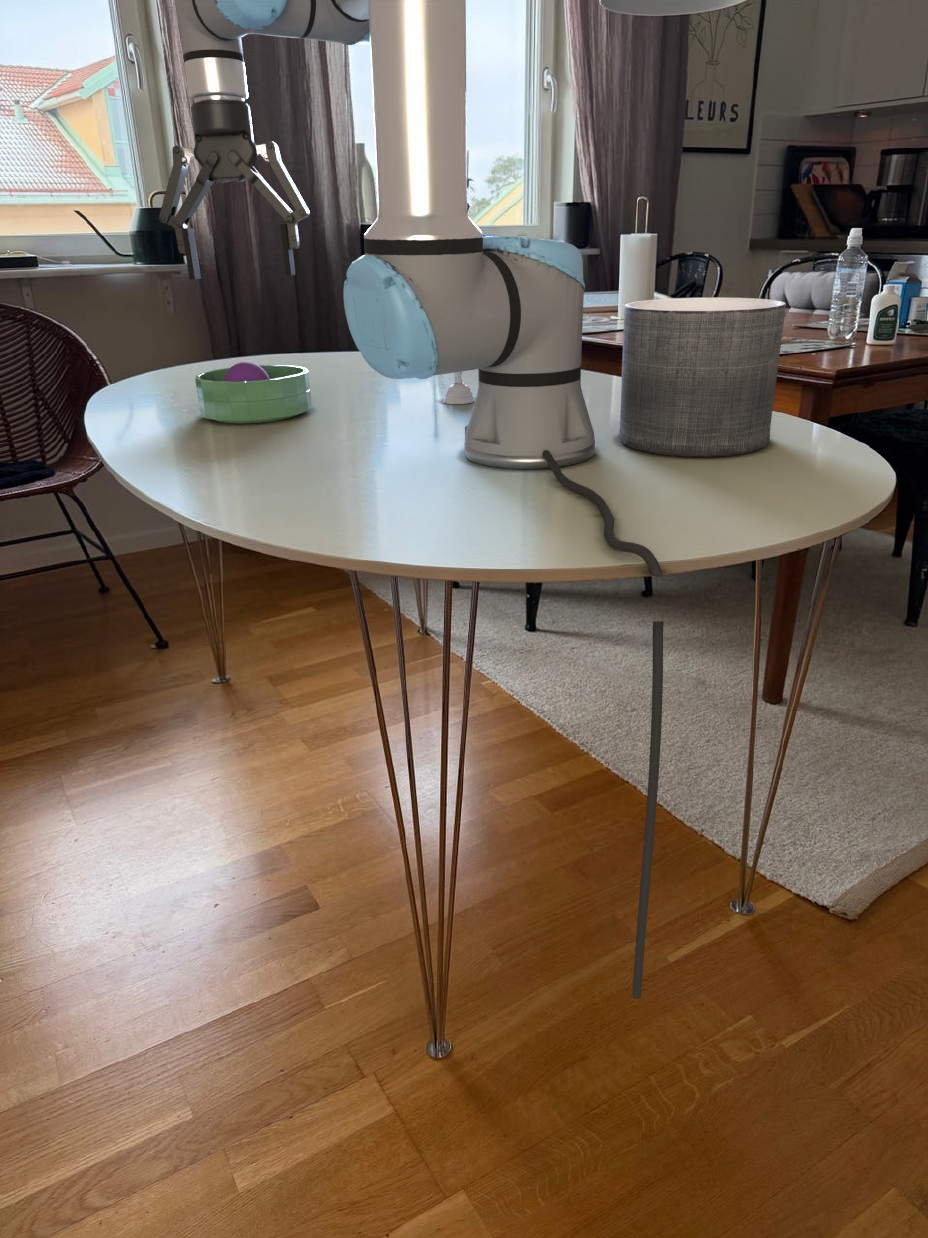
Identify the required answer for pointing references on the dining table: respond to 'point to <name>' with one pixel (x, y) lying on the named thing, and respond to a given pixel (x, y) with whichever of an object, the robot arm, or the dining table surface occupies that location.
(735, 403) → the planter
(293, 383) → the bowl
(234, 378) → the ball
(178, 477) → the dining table surface
